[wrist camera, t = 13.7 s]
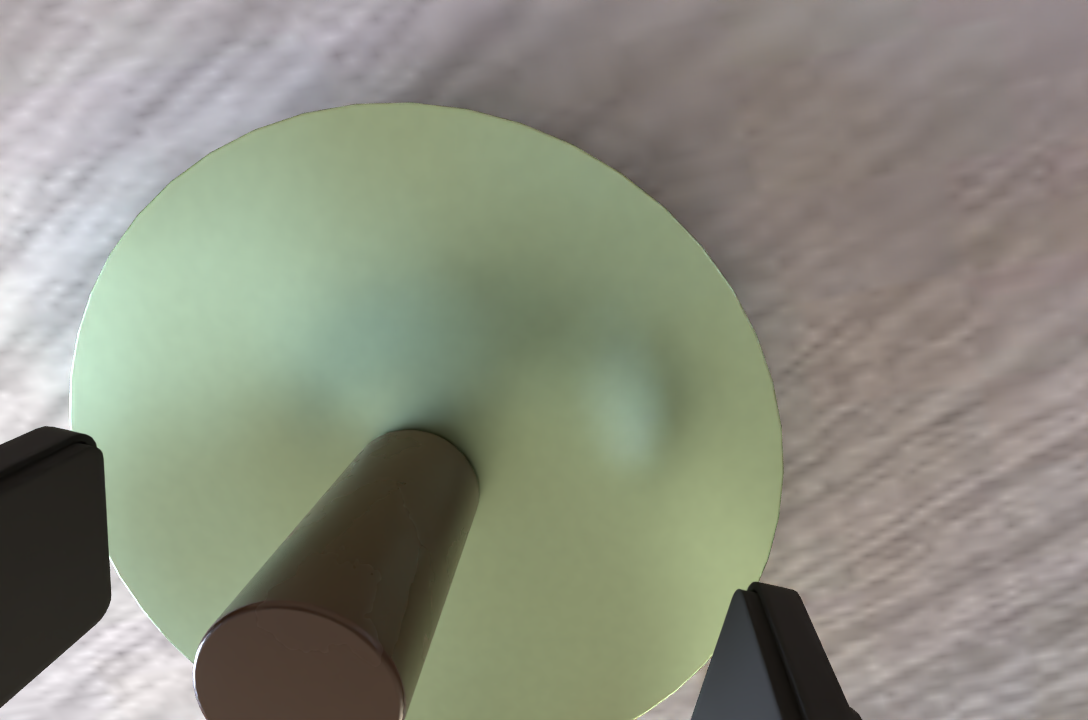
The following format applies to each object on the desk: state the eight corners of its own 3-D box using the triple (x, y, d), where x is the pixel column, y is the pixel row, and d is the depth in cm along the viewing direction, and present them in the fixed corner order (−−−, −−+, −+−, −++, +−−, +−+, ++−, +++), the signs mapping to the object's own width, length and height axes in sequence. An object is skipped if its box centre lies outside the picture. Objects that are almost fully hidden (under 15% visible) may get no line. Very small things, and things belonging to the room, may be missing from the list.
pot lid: (211, -33, 11) (-268, -310, 5) (911, 317, 12) (1260, 459, 6) (52, 579, 16) (-316, 848, 9) (578, 805, 17) (572, 1192, 10)
